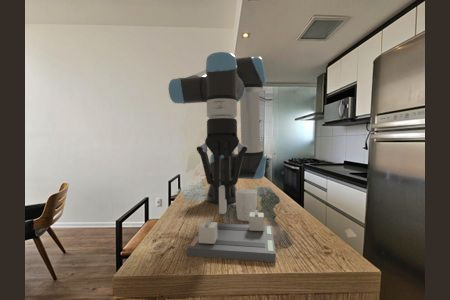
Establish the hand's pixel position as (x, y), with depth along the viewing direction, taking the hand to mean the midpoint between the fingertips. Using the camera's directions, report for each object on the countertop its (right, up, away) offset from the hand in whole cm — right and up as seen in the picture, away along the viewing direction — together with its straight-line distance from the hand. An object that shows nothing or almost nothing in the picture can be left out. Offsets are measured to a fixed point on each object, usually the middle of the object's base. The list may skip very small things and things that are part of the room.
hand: (222, 211), depth 59 cm
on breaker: (+10, -7, +8) cm, 15 cm away
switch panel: (+3, -10, +5) cm, 11 cm away
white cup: (+8, -9, +25) cm, 28 cm away
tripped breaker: (-4, -7, 0) cm, 8 cm away
